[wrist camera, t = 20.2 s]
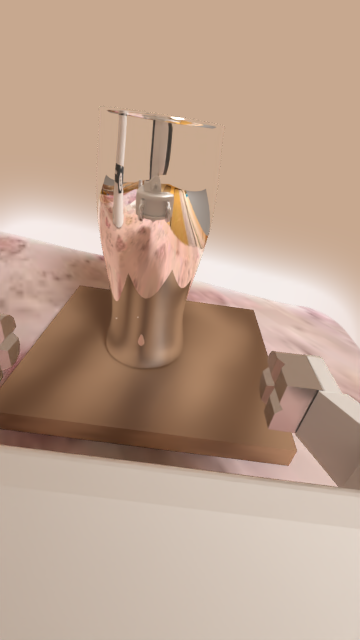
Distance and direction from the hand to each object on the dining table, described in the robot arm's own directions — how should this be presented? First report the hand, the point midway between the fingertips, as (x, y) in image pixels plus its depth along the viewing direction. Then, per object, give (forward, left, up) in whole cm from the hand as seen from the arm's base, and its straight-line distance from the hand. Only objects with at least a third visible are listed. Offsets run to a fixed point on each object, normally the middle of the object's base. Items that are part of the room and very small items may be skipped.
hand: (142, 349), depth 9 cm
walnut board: (0, +11, -10) cm, 15 cm away
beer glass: (-1, +11, -9) cm, 14 cm away
